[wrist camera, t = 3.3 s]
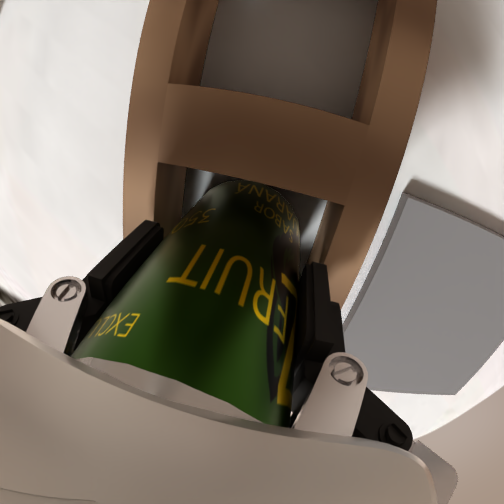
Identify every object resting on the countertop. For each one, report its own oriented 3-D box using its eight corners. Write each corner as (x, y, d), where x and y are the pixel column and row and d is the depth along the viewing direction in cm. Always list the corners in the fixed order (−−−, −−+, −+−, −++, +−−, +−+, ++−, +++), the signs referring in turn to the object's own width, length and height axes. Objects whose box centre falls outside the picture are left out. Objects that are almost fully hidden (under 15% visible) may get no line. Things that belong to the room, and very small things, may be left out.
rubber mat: (402, 192, 13) (408, 197, 12) (545, 259, 12) (551, 265, 11) (314, 373, 20) (314, 382, 19) (452, 388, 19) (454, 394, 18)
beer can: (257, 288, 17) (203, 506, 6) (178, 233, 16) (42, 425, 5) (322, 221, 14) (342, 492, 4) (233, 153, 13) (35, 352, 3)
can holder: (207, -58, 7) (182, -89, 4) (412, -18, 7) (439, -42, 4) (154, 279, 17) (128, 315, 14) (311, 320, 17) (310, 365, 14)
